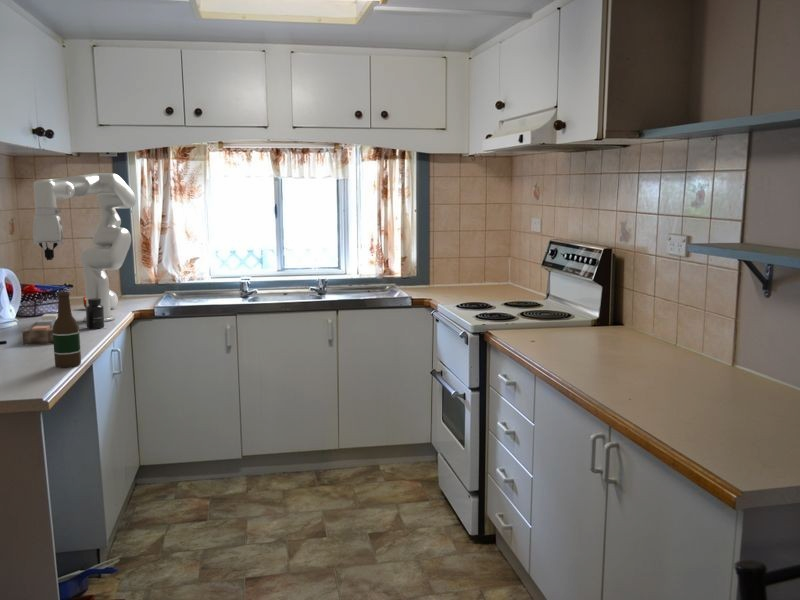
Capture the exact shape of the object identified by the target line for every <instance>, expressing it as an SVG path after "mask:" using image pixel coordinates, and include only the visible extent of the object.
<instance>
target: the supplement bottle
mask: <svg viewBox="0 0 800 600" xmlns="http://www.w3.org/2000/svg"><path fill="white" fill-rule="evenodd" d="M100 303H101V299H99V298H93V299H88V304H89V305H88V306H87V307H86V308H85V317H86V321H85V323H86V328H87V329H88V328H89V330H98V329H99V330H100V329H103V328H105V321H104V307H103V306H102V305H100Z"/></svg>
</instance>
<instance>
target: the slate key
mask: <svg viewBox="0 0 800 600" xmlns="http://www.w3.org/2000/svg"><path fill="white" fill-rule="evenodd" d="M37 321H38V322H37ZM37 321H36V322H37V326H47V325H50V327H53V326H54V323H55V319H49V320H42V319H39V320H37Z"/></svg>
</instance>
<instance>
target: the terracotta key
mask: <svg viewBox="0 0 800 600" xmlns="http://www.w3.org/2000/svg"><path fill="white" fill-rule="evenodd" d="M49 329H50V325H47V326H35V327H33V328H32V331H37V330H49Z"/></svg>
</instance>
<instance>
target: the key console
mask: <svg viewBox="0 0 800 600" xmlns="http://www.w3.org/2000/svg"><path fill="white" fill-rule="evenodd" d="M38 321H39V320H37V321H36V322H34V323H32V324H31V325H30V326H28V327H26V328H25V329H24V330H22V331H21V332H22V345H23V346H24V345H25V344H28V345H44V344H45V345H47V344H46V343H53V327H50V329H49V330H37V331H32V328H33V327H35V326H37V322H38ZM53 344H54V343H53Z"/></svg>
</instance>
